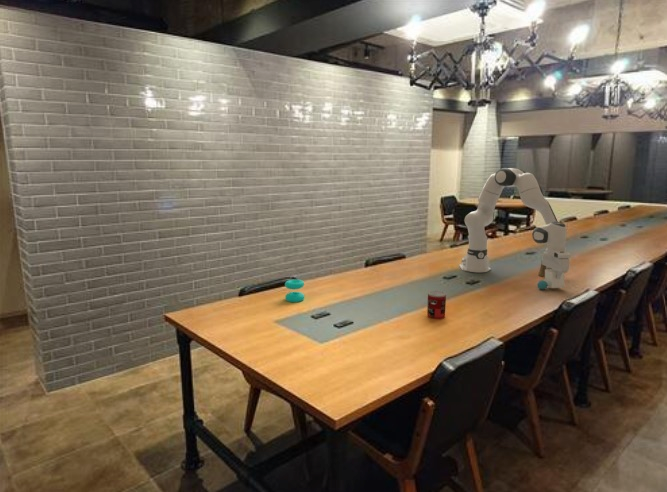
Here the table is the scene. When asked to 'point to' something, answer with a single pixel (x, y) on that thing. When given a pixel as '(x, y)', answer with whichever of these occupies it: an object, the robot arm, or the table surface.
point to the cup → (553, 279)
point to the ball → (542, 285)
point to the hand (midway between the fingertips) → (553, 276)
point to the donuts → (294, 295)
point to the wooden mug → (542, 270)
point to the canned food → (436, 304)
